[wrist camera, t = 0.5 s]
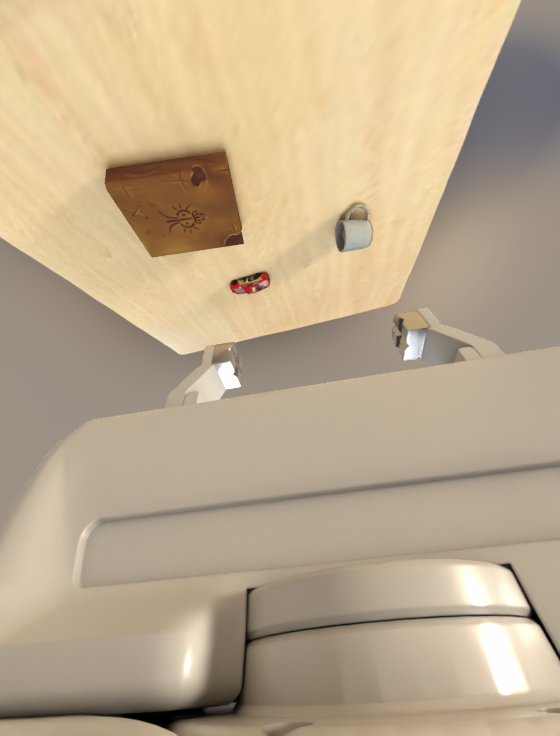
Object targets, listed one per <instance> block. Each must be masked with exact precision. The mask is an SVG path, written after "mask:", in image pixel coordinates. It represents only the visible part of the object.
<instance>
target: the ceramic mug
mask: <svg viewBox="0 0 560 736" xmlns="http://www.w3.org/2000/svg"><path fill="white" fill-rule="evenodd" d="M357 207H359V208H361V209H364V210H365V219H356V220H348V218H349V216H350V214H351V212H352V211H353V210H354V209H356V208H357ZM368 218H369V212H368V209H367V208H366V207H365V206H364V205H362V204H355V205H353V206H352V207H351V208H350V209H349V210H348V211H347V214H346V216H345V219H344V220H340V221H339V222H338V224H337V227H336V244H337V248H338V250H339V251H340V252H347V251H353V250H358V249H363V248H366V247H368V246H369V245H370V244H371V242H372V239H373V226H372V224H371V222H370V221H369V220H368Z"/></svg>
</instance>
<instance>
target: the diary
mask: <svg viewBox="0 0 560 736" xmlns="http://www.w3.org/2000/svg"><path fill="white" fill-rule="evenodd" d="M105 185H106V188H107V191H108V193H109V194H110V196H111V197H112V199H113V200H114V202H115V203H116V205H117V206H118V208H119V209H120V211H121V212H122V214H123V215H124V217H125V218H126V220H127V221H128V223H129V224H130V226H131V227H132V229H133V230H134V231H135V233H136V234H137V236H138V237H139V239H140V240H141V242H142V243H143V245H144V246H145V248H146V249H147V251H148V252H149V254H150V255H151V257H158V256H165V255H172V254H178V253H185V252H192V251H199V250H205V249H212V248H219V247H226V246H233V245H239V244H244V241H243V236H242V232H241V230H242V226H241V221H240V216H239V212H238V207H237V202H236V198H235V193H234V188H233V184H232V179H231V174H230V170H229V165H228V160H227V156H226V152H221V153H215V154H208V155H201V156H194V157H187V158H180V159H173V160H166V161H160V162H153V163H146V164H139V165H132V166H125V167H118V168H112V169H106V177H105Z"/></svg>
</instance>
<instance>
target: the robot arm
mask: <svg viewBox="0 0 560 736" xmlns="http://www.w3.org/2000/svg"><path fill="white" fill-rule="evenodd" d="M393 322H394V323H395V326H394V327H393V329H392V338H393V342H394V344H395V346H396V347H398V348H399V353H400V355H401V357H402V359H403V360H411V359H419V358H421V359H422V360H424V361H425V362H427V363H429V364H430V365H432V366H430V367H424V368H418V369H411V370H405V371H399V372H393V373H386V374H380V375H373V376H367V377H361V378H354V379H348V380H343V381H335V382H330V383H323V384H317V385H311V386H304V387H298V388H292V389H285V390H279V391H273V392H266V393H259V394H253V395H247V396H241V397H235V398H228V399H221V400H219V399H220V398H221V396H222V394H223V393H224V392H225V390H226V389H231V388H236V387H241V380H242V377H241V372H242V361H241V357H240V355H239V354H238V353H237V347H236V344H235V343H234V342H230V343H224V344H217V345H211V346H207V347H205V351H204V355H203V359H202V363H201V366H200V367H198V368H196V369H195V370H194V371H193V372H192V373H191V374H190V375H189V376H188V377H187V378H186V379H185V380H184V381H183V382H181V384H180V385H178V386H177V387H176V388H175V389H174V390H173V391H172V392H171V393H170V394H169V395H168V398H167V401H166V403H165V407H164V409H159V410H152V411H146V412H140V413H133V414H127V415H121V416H114V417H107V418H99V419H94V420H90V421H87V422H85V423H84V424H82V425H81V426H80V427H78V428H76V429H75V430H74V431H72V432H71V433H70V434H69V435H67V436H66V437H64V438H63V439H62V440H61V441H59V442H58V443H57V444H55V445H54V446H53V447H52V448H51V449H50V450H49V451H48V452H47V454H46V455H45V456H44V458H43V459H42V460H41V462H40V463H39V465H38V466H37V467H36V469H35V470H34V472H33V473H32V475H31V476H30V478H29V479H28V480H27V482H26V484H25V485H24V487H23V488H22V490H21V491H20V493H19V494H18V496H17V498H16V499H15V501H14V502H13V504H12V505H11V507H10V508H9V510H8V511H7V513H6V515H5V516H4V518H3V520H2V521H1V523H0V736H560V346H557V347H551V348H545V349H538V350H532V351H526V352H519V353H513V354H507V355H505V354H504V353H503V352H502V351H501V350H500V349H499V348H498V347H497V346H496V344H495V343H494V342H491V341H488V340H486V339H483V338H480V337H477V336H475V335H472V334H469V333H466V332H464V331H461V330H458V329H455V328H452V327H450V326H447V325H442V324H441V323H440V322H439V321H438V320H437V319H436V317H435V316H434V315H433V314H432V313H431V311H430V310H429V309H428V308H422V309H418V310H413V311H408V312H403V313H397V314H395V315H394V318H393Z"/></svg>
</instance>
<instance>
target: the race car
mask: <svg viewBox="0 0 560 736" xmlns="http://www.w3.org/2000/svg"><path fill="white" fill-rule="evenodd" d="M269 285H270V279H269V276H268V274H265V273H261V274H260V273H257V274H255V276H254V275H253V276H249V277H246V278H243V279H239V280H238V281H237V280H234V281H233V282H232V283H231V285H230V288H231V290H232V292H233V293H236V294H244V293H248V294H251V293H255V292H258V291H261V290H263V289H265V288H267V287H268V286H269Z"/></svg>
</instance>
